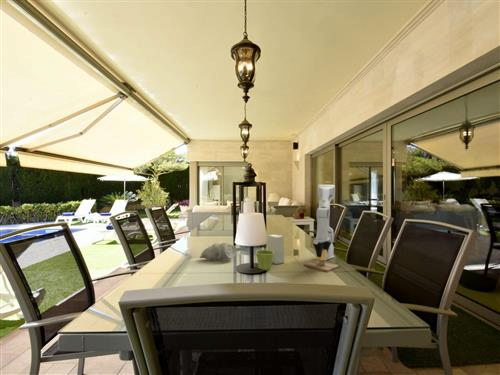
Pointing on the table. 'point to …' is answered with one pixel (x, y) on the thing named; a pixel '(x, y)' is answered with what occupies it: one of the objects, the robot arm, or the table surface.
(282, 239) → the skincare box
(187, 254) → the table surface
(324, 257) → the cap
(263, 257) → the plant pot
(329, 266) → the post board
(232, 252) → the seashell
